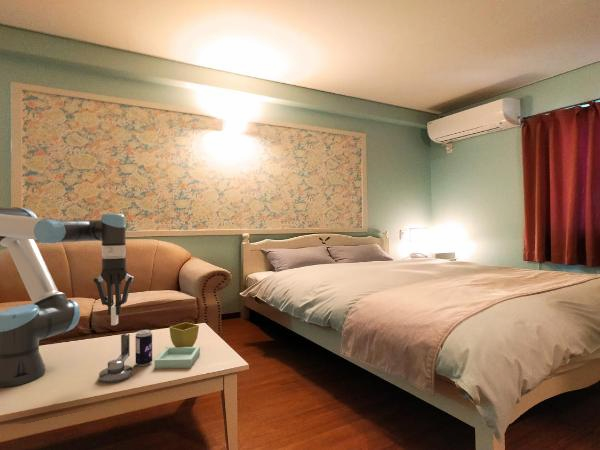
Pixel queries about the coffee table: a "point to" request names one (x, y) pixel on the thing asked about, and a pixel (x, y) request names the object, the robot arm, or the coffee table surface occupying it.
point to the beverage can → (143, 347)
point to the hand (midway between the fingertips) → (114, 324)
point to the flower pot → (184, 334)
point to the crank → (118, 363)
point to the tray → (177, 357)
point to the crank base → (115, 375)
